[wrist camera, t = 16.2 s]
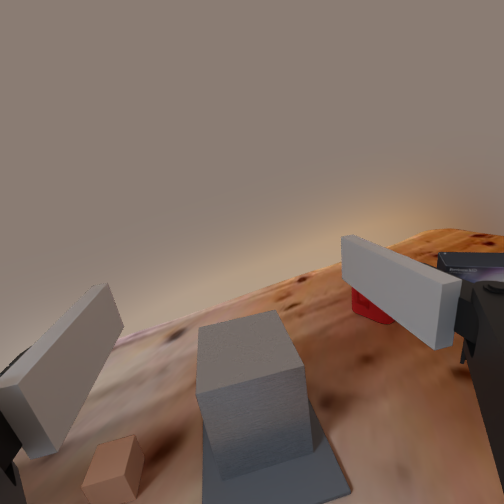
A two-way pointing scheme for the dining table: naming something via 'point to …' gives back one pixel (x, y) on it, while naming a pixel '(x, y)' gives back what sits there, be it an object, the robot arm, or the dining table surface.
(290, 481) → the charcoal mat
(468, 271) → the small box
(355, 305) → the mug
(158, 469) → the dining table surface
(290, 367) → the steel cover
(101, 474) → the terracotta cube
